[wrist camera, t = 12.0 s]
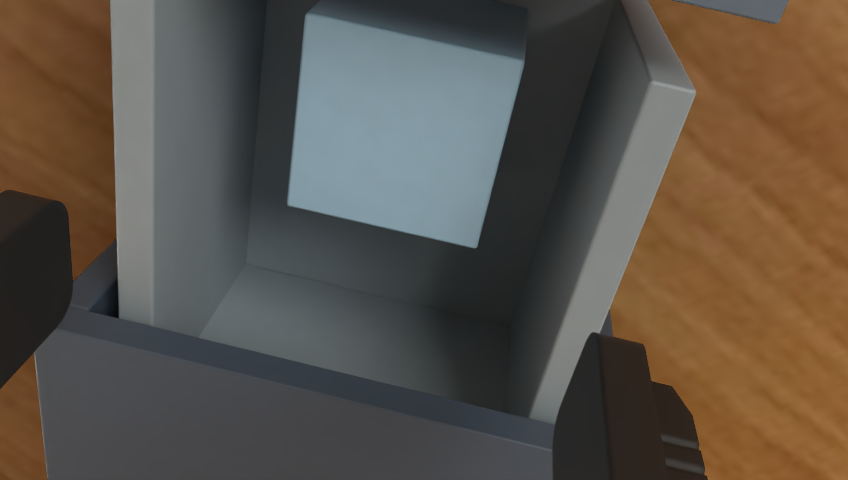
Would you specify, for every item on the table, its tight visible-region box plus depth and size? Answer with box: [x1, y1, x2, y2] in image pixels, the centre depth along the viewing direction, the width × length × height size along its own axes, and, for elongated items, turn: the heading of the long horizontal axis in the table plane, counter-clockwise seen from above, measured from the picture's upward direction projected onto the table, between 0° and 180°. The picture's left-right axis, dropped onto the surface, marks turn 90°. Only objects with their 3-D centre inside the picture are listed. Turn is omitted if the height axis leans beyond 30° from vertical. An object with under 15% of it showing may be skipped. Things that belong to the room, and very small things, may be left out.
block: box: [287, 0, 528, 248], centre depth 17 cm, size 4×4×4 cm
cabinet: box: [34, 238, 613, 480], centre depth 23 cm, size 15×13×10 cm
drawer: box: [110, 0, 789, 424], centre depth 17 cm, size 18×11×8 cm, turn 169°
